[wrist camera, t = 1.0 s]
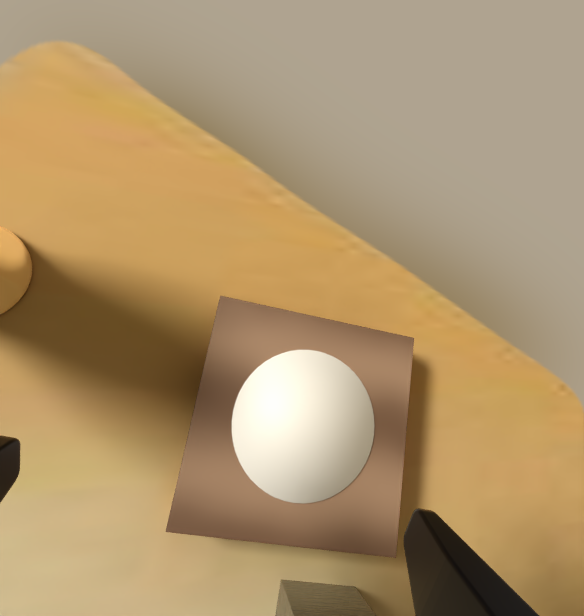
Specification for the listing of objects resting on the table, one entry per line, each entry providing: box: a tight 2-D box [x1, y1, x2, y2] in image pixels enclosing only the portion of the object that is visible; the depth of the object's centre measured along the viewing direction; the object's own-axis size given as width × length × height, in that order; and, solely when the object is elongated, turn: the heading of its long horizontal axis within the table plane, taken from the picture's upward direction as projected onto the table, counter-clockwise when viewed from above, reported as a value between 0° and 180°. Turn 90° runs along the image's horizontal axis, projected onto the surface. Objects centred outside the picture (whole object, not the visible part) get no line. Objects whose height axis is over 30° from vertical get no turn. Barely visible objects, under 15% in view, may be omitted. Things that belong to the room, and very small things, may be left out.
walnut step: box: [166, 296, 414, 558], centre depth 21 cm, size 12×12×3 cm
